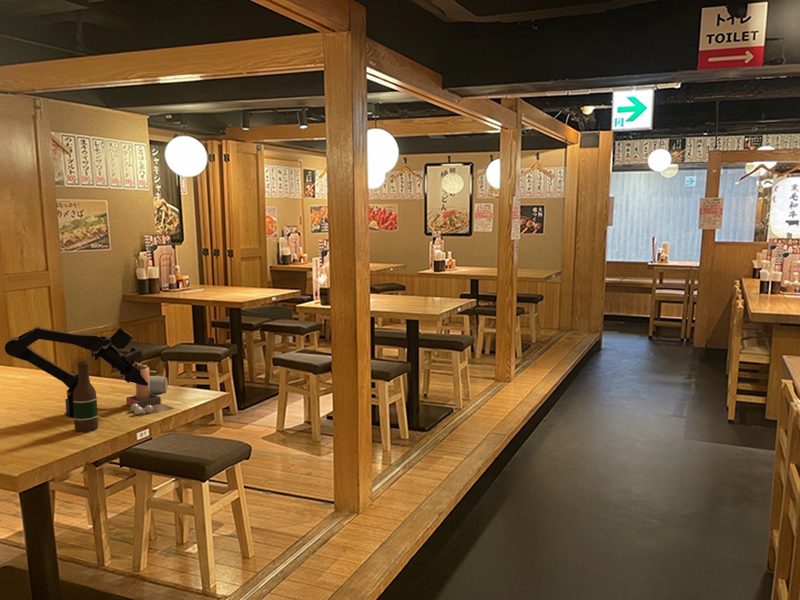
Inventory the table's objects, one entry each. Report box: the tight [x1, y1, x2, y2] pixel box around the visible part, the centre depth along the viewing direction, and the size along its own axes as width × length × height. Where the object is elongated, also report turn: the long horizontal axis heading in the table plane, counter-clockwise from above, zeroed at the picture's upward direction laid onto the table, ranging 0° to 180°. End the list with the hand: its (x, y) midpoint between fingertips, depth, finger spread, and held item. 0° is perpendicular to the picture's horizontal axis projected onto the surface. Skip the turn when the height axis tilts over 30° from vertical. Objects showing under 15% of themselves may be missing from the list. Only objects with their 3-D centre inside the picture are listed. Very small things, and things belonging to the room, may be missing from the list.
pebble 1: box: [130, 404, 139, 411], centre depth 235 cm, size 3×3×3 cm
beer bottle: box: [73, 360, 99, 433], centre depth 216 cm, size 8×8×24 cm
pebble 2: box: [134, 406, 143, 416], centre depth 232 cm, size 3×3×3 cm
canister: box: [135, 364, 150, 400], centre depth 244 cm, size 5×5×13 cm
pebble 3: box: [144, 405, 153, 413], centre depth 234 cm, size 3×3×3 cm
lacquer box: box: [125, 393, 162, 408], centre depth 245 cm, size 9×9×4 cm
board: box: [126, 402, 176, 418], centre depth 238 cm, size 14×10×1 cm
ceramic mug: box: [149, 375, 169, 395], centre depth 264 cm, size 11×8×8 cm
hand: (146, 383), depth 245 cm, fingers closed on canister, 5 cm apart
